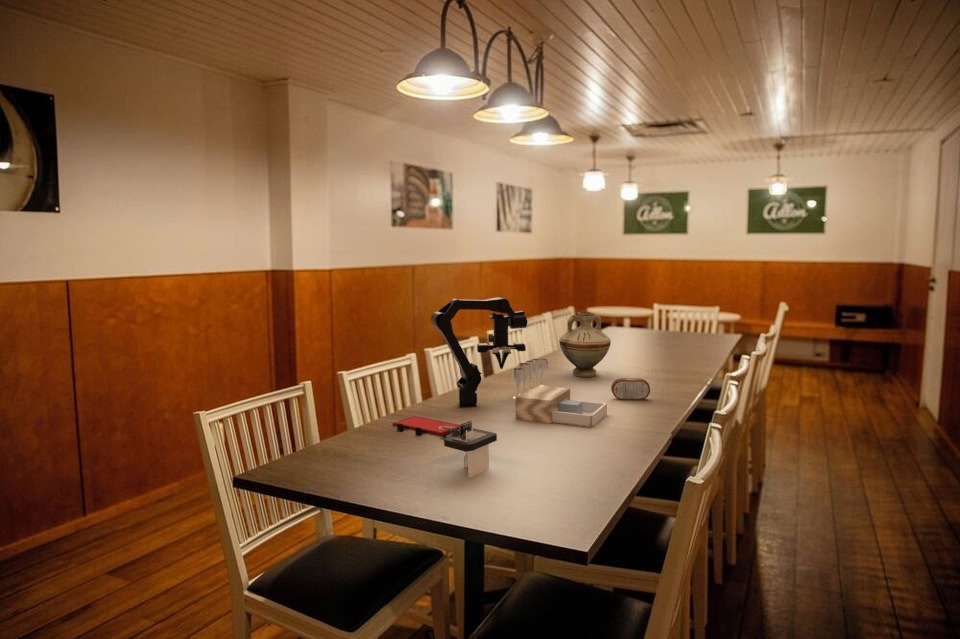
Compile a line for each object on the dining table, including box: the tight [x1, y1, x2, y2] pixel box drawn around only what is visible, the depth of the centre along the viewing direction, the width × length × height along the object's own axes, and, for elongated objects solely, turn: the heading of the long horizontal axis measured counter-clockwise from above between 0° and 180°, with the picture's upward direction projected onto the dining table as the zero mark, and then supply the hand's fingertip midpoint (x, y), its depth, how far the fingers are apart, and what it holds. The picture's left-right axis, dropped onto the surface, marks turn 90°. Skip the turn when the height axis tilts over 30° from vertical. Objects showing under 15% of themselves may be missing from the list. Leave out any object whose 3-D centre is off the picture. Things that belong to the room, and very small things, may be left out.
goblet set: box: [511, 357, 549, 400], centre depth 261 cm, size 28×6×13 cm, turn 150°
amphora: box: [558, 311, 612, 378], centre depth 291 cm, size 24×24×30 cm
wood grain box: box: [514, 384, 571, 424], centre depth 226 cm, size 13×20×8 cm
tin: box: [610, 377, 651, 401], centre depth 246 cm, size 15×3×8 cm, turn 84°
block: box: [558, 399, 584, 414], centre depth 222 cm, size 5×6×7 cm
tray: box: [552, 399, 608, 428], centre depth 220 cm, size 15×18×4 cm
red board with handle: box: [392, 415, 462, 439], centre depth 210 cm, size 30×3×15 cm
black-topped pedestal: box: [443, 419, 498, 479], centre depth 171 cm, size 28×26×13 cm
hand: (501, 368), depth 245 cm, fingers closed
